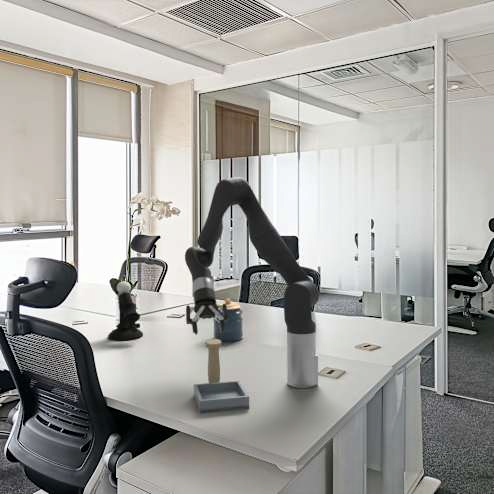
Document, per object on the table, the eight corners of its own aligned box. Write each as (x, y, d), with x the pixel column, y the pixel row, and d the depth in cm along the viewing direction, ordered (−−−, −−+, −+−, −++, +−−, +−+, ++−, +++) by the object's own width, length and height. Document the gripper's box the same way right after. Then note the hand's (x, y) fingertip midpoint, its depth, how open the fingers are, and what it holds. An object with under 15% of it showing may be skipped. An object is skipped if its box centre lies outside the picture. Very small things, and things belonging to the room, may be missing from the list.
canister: (209, 341, 220) (208, 300, 218) (219, 334, 232) (218, 295, 231) (237, 343, 216) (237, 301, 215) (246, 335, 228) (246, 296, 227)
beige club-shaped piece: (220, 384, 165) (219, 338, 164) (223, 391, 158) (222, 343, 157) (205, 385, 164) (204, 339, 163) (207, 392, 158) (206, 344, 157)
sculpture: (137, 331, 239) (136, 278, 238) (153, 342, 219) (151, 284, 217) (104, 335, 232) (102, 280, 230) (117, 347, 211) (116, 287, 210)
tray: (239, 391, 158) (239, 380, 158) (249, 408, 144) (249, 396, 144) (194, 395, 155) (193, 384, 155) (200, 413, 141) (199, 401, 141)
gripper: (184, 287, 175) (188, 327, 165) (225, 285, 178) (231, 325, 168) (183, 300, 181) (187, 339, 170) (222, 298, 184) (229, 337, 173)
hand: (209, 332), depth 169 cm, fingers open, 8 cm apart
